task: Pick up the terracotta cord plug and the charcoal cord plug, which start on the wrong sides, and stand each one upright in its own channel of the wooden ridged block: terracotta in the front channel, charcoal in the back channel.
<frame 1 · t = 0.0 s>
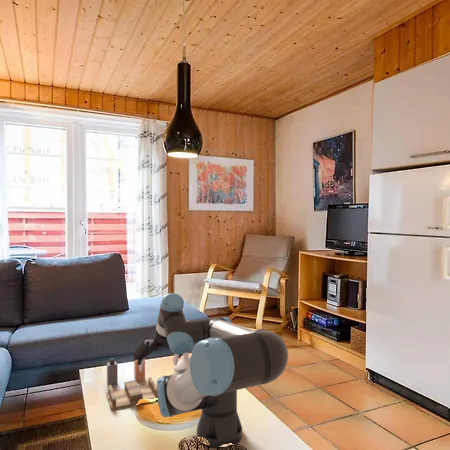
hand: (157, 365, 143), 15 cm above the table, tool tilted 35°, fingers open, 13 cm apart
wooden ridged block: (133, 397, 149), on the table
charcoal plug: (112, 384, 162), on the table
terracotta plug: (139, 379, 167), on the table
flower in vase: (186, 372, 175), on the table
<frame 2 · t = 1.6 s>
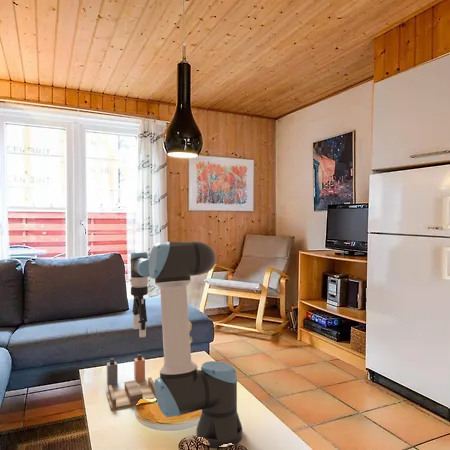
hand: (139, 332, 166), 21 cm above the table, tool pointing down, fingers open, 13 cm apart
nothing on the table moved.
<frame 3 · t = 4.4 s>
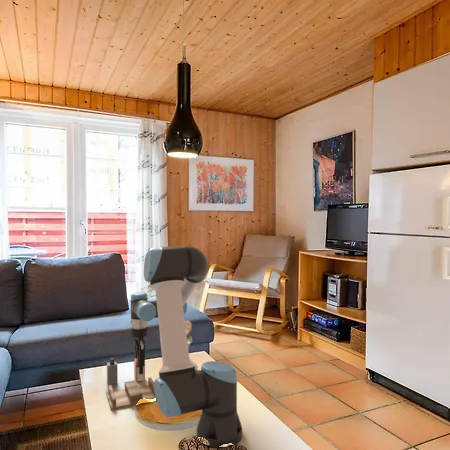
hand: (139, 378, 167), 0 cm above the table, tool pointing down, fingers closed on terracotta plug, 4 cm apart
terracotta plug: (139, 379, 167), on the table, touching gripper
everything else where it was.
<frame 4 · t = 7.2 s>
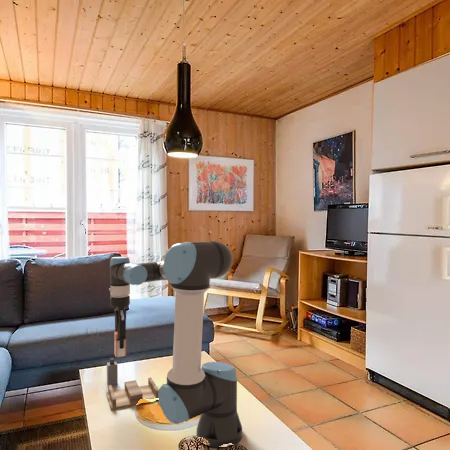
hand: (120, 354, 147), 18 cm above the table, tool pointing down, fingers closed on terracotta plug, 4 cm apart
terracotta plug: (120, 354, 147), point 18 cm above the table, touching gripper
everything else where it was.
when the fingers open (2 cm above the table, at t = 10.4 s): terracotta plug stays where it is, resting on wooden ridged block.
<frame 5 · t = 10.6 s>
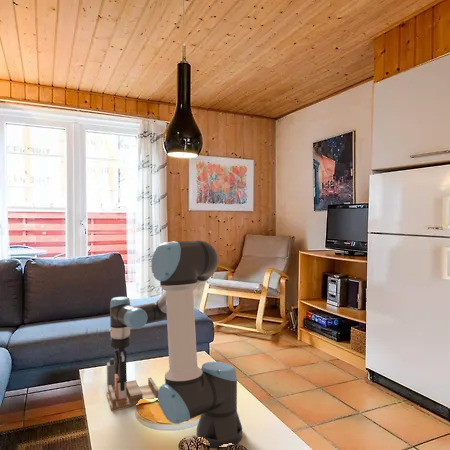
hand: (120, 393, 146), 3 cm above the table, tool pointing down, fingers open, 7 cm apart
terracotta plug: (120, 397, 146), point 1 cm above the table, touching wooden ridged block
everything else where it was.
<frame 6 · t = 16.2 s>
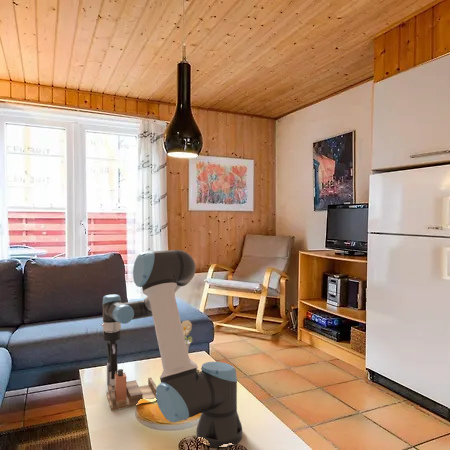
hand: (112, 383, 162), 0 cm above the table, tool pointing down, fingers closed on charcoal plug, 4 cm apart
charcoal plug: (112, 384, 162), on the table, touching gripper
everything else where it was.
when the fingers open (2 cm above the table, at t = 22.3 s): charcoal plug stays where it is, resting on wooden ridged block.
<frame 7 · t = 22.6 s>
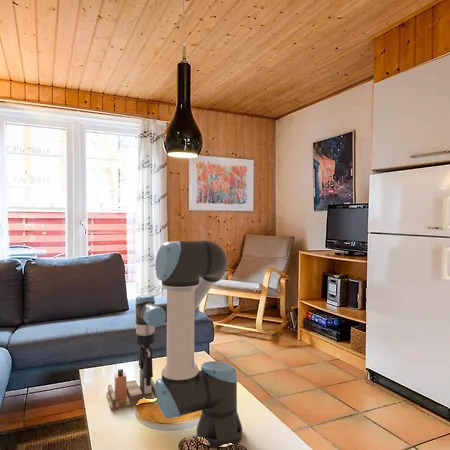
hand: (145, 388, 151), 3 cm above the table, tool pointing down, fingers open, 8 cm apart
charcoal plug: (145, 392, 151), point 1 cm above the table, touching wooden ridged block
everything else where it was.
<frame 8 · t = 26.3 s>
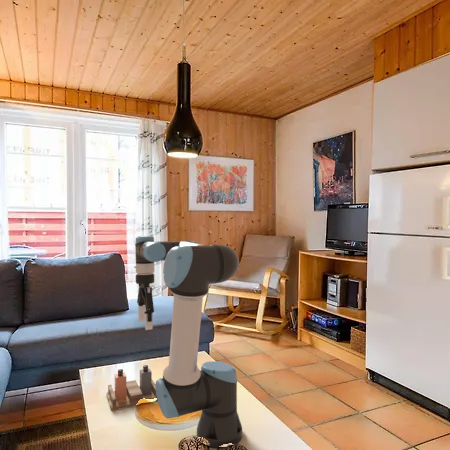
hand: (145, 325, 151), 29 cm above the table, tool pointing down, fingers open, 13 cm apart
nothing on the table moved.
at the end: terracotta plug inside the target area on the wooden ridged block (0.0 cm from its centre), point 1.0 cm above the wooden ridged block's base; charcoal plug inside the target area on the wooden ridged block (0.0 cm from its centre), point 1.0 cm above the wooden ridged block's base; charcoal plug tilted 0° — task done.
